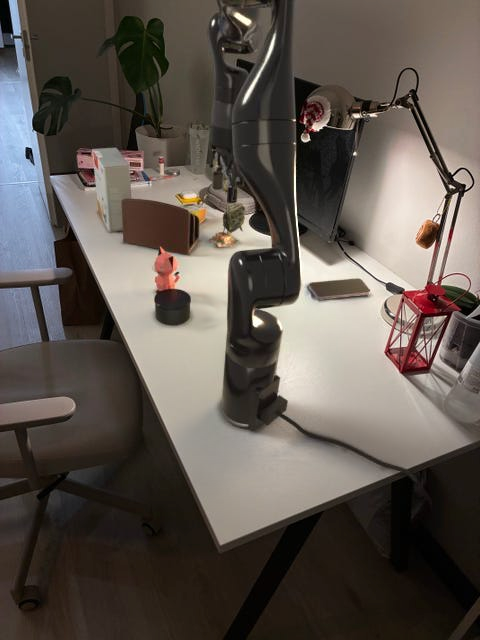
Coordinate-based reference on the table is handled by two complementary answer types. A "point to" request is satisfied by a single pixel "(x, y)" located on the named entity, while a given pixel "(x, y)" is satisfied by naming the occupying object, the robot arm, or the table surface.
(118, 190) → the hard drive box
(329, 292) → the smartphone
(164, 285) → the cat figurine
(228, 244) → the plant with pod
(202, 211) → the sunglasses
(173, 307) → the steel tin
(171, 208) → the letter holder
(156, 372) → the table surface
